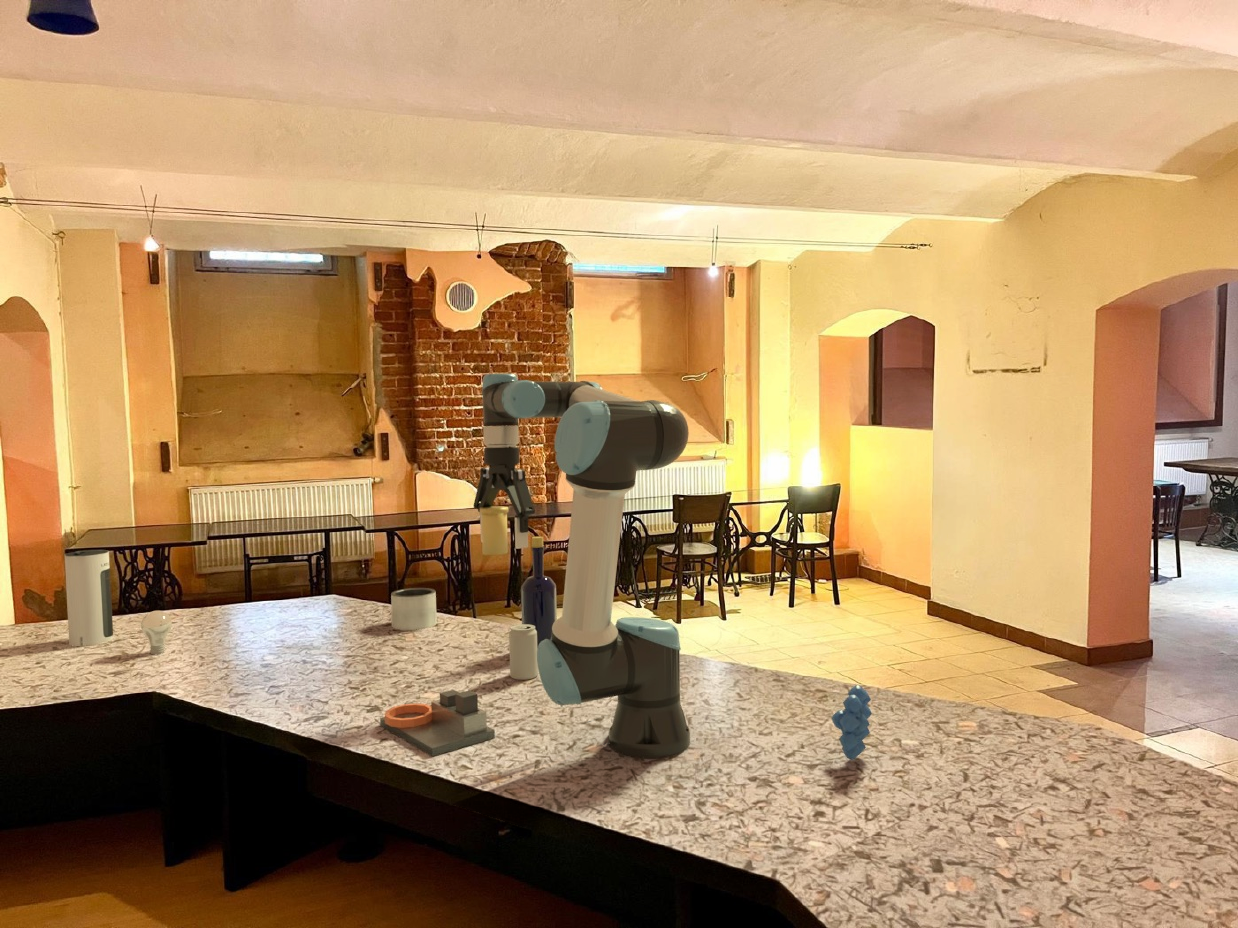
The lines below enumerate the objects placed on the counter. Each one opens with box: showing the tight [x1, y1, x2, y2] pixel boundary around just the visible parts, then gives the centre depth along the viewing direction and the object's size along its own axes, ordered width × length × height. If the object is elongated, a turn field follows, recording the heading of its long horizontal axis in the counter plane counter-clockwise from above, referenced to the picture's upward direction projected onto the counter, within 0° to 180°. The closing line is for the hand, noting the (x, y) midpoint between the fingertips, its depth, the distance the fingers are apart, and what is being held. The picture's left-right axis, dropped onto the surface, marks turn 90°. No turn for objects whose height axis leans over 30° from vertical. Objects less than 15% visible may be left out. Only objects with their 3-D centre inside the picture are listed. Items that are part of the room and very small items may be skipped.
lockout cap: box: [479, 505, 509, 556], centre depth 186 cm, size 6×6×10 cm
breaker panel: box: [379, 699, 496, 757], centre depth 164 cm, size 21×13×5 cm, turn 41°
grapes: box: [831, 684, 873, 761], centre depth 149 cm, size 12×7×12 cm, turn 149°
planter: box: [390, 587, 438, 631], centre depth 243 cm, size 13×13×11 cm
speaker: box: [64, 549, 114, 647], centre depth 231 cm, size 11×10×26 cm
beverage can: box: [508, 623, 539, 681], centre depth 197 cm, size 6×6×12 cm
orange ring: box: [384, 703, 432, 728], centre depth 166 cm, size 9×9×2 cm
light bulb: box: [140, 610, 173, 655], centre depth 220 cm, size 7×7×12 cm
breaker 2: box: [455, 690, 479, 715], centre depth 160 cm, size 3×3×4 cm
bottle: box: [520, 536, 558, 648], centre depth 215 cm, size 9×9×30 cm
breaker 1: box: [439, 689, 460, 707], centre depth 165 cm, size 3×3×4 cm
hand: (503, 544), depth 184 cm, fingers open, 13 cm apart
